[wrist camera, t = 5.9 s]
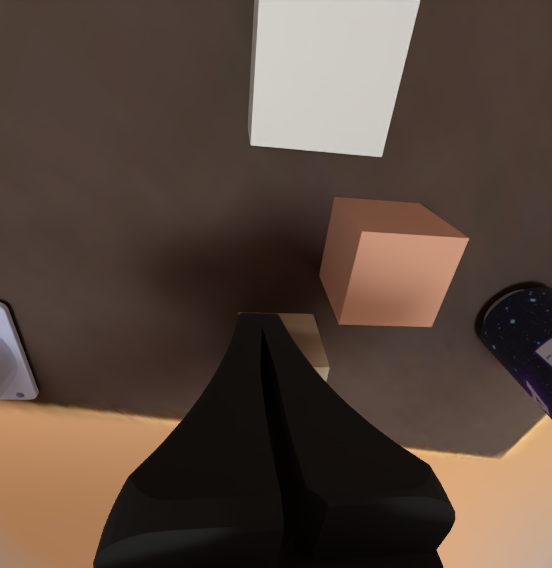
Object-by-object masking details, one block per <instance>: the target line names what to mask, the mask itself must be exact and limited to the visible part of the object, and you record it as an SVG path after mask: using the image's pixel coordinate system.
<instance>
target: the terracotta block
mask: <svg viewBox="0 0 552 568" xmlns="http://www.w3.org/2000/svg"><path fill="white" fill-rule="evenodd" d="M468 240H469V238H468V237H467V236H465V235H464V234H462V233H461V232H459V231H458V230H457V229H455V228H454V227H452V226H451V225H449V224H448V223H447V222H445V221H444V220H442V219H441V218H440V217H438V216H437V215H435V214H434V213H432V212H431V211H430V210H428V209H427V208H425V207H424V206H422V205H421V204H420V203H407V202H395V201H382V200H369V199H356V198H344V197H334V202H333V207H332V212H331V217H330V222H329V228H328V233H327V238H326V243H325V248H324V253H323V258H322V264H321V269H320V274H319V277H320V279H321V281H322V284H323V286H324V289H325V291H326V294H327V296H328V299H329V301H330V304H331V306H332V309H333V311H334V314H335V316H336V319H337V321H338V324H339V325H376V326H415V327H432V325H433V322H434V320H435V318H436V315H437V313H438V311H439V308H440V306H441V304H442V301H443V299H444V297H445V294H446V292H447V289H448V287H449V285H450V282H451V280H452V278H453V275H454V273H455V271H456V268H457V266H458V264H459V261H460V259H461V257H462V254H463V252H464V249H465V247H466V245H467V242H468Z"/></svg>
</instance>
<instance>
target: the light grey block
mask: <svg viewBox="0 0 552 568" xmlns="http://www.w3.org/2000/svg"><path fill="white" fill-rule="evenodd" d="M419 3H420V0H254V17H253V36H252V55H251V74H250V94H249V113H248V133H249V139H250V145H254V146H265V147H276V148H287V149H298V150H309V151H320V152H331V153H342V154H353V155H364V156H375V157H382V154H383V149H384V145H385V141H386V137H387V133H388V129H389V125H390V121H391V117H392V113H393V109H394V105H395V101H396V97H397V93H398V88H399V84H400V80H401V76H402V72H403V68H404V64H405V60H406V56H407V52H408V48H409V44H410V40H411V36H412V31H413V27H414V23H415V19H416V15H417V11H418V7H419Z"/></svg>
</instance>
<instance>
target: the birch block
mask: <svg viewBox="0 0 552 568" xmlns="http://www.w3.org/2000/svg"><path fill="white" fill-rule="evenodd" d="M241 313H256V312H238V315H239V314H241ZM273 314H278V315H279V316H280V318H281V320H282V321H283V323H284V325H285V327H286V328H287V330H288V332H289V333H290V335H291V337H292V338H293V340H294V341H295V343H296V344H297V346H298V347H299V348H300V350H301V351H302V353H303V354H304V356H305V357H306V358H307V360H308V361H309V362H310V363H311V365H312V366H313V367H314V368H315V370H316V371H317V372H318V373H319V375H320V376H321V377H322V378H323V379H324V380H325V381H326V380H327V376H328V372H329V368H330V367H329V363H328V360H327V357H326V354H325V350H324V347H323V344H322V341H321V337H320V334H319V331H318V328H317V325H316V321H315V318H314V315H313V314H294V313H273Z"/></svg>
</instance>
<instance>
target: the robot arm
mask: <svg viewBox="0 0 552 568" xmlns="http://www.w3.org/2000/svg"><path fill="white" fill-rule="evenodd" d="M38 393H39V391H38V388H37V385H36V383H35V380H34V377H33V375H32V372H31V369H30V366H29V364H28V361H27V358H26V355H25V353H24V350H23V347H22V345H21V342H20V339H19V336H18V334H17V331H16V328H15V326H14V323H13V320H12V317H11V315H10V312H9V309H8V307H7V306H6V305H5V304H3V303H1V302H0V400H31V399H35V398H36V396H37V395H38ZM454 522H455V511H454V509H453V507H452V505H451V503H450V501H449V499H448V497H447V494H446V493H445V491H444V489H443V487H442V485H441V483H440V482H439V480H438V478H437V477H436V475H435V474H434V472H433V470H432V468H431V467H430V465H429V464H427V463H426V462H424V461H423V460H421V459H419V458H418V457H416V456H415V455H413V454H412V453H410V452H409V451H407V450H406V449H404V448H403V447H401V446H400V445H398V444H397V443H395V442H394V441H393V440H391V439H390V438H388V437H387V436H386V435H384V434H383V433H382V432H380V431H379V430H378V429H377V428H375V427H374V426H373V425H371V424H370V423H369V422H368V421H367V420H365V419H364V418H363V417H362V416H361V415H360V414H358V413H357V412H356V411H355V410H354V409H353V408H351V407H350V406H349V405H348V404H347V403H346V402H345V401H344V400H343V399H342V398H341V397H340V396H339V395H338V394H337V393H336V392H335V391H334V390H333V389H332V388H331V387H330V386H329V385H328V384H327V383H326V381H325V380H324V379H323V378H322V377H321V376H320V375H319V373H318V372H317V371H316V370H315V368H314V367H313V366H312V365H311V363H310V362H309V361H308V360H307V358H306V357H305V356H304V354H303V353H302V351H301V350H300V348H299V347H298V346H297V344H296V343H295V341H294V340H293V338H292V337H291V335H290V333H289V332H288V330H287V328H286V327H285V325H284V323H283V321H282V320H281V318H280V316H279V315H278V314H273V313H241V314H239V315H238V321H237V326H236V329H235V332H234V335H233V338H232V340H231V342H230V345H229V347H228V349H227V352H226V354H225V356H224V358H223V360H222V362H221V363H220V365H219V367H218V369H217V371H216V373H215V374H214V376H213V378H212V379H211V381H210V383H209V384H208V386H207V387H206V389H205V390H204V392H203V393H202V395H201V396H200V398H199V399H198V400H197V402H196V403H195V404H194V406H193V407H192V408H191V410H190V411H189V412H188V414H187V415H186V416H185V417H184V419H183V420H182V421H181V422H180V423H179V424H178V426H177V427H176V428H175V429H174V430H173V431H172V432H171V434H170V435H169V436H168V437H167V438H166V439H165V441H164V442H163V443H162V444H161V445H160V446H159V447H158V448H157V449H156V450H155V451H154V452H153V453H152V454H151V455H150V456H149V457H148V458H147V459H146V460H145V461H144V462H143V463H142V464H141V465H140V466H139V467H138V468H137V469H136V470H135V471H134V472H133V473H132V474H131V475H130V476H129V477H128V478H127V480H126V482H125V484H124V485H123V488H122V489H121V491H120V493H119V495H118V497H117V499H116V501H115V503H114V505H113V507H112V509H111V512H110V514H109V516H108V519H107V521H106V524H105V526H104V529H103V532H102V535H101V539H100V542H99V546H98V549H97V552H96V556H95V559H94V562H93V566H94V568H443V565H442V562H441V560H440V557H439V555H438V553H437V548H438V547H439V545H440V544H441V543H442V541H443V540H444V539H445V537H446V536H447V534H448V533H449V532H450V530H451V528H452V526H453V524H454Z"/></svg>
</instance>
